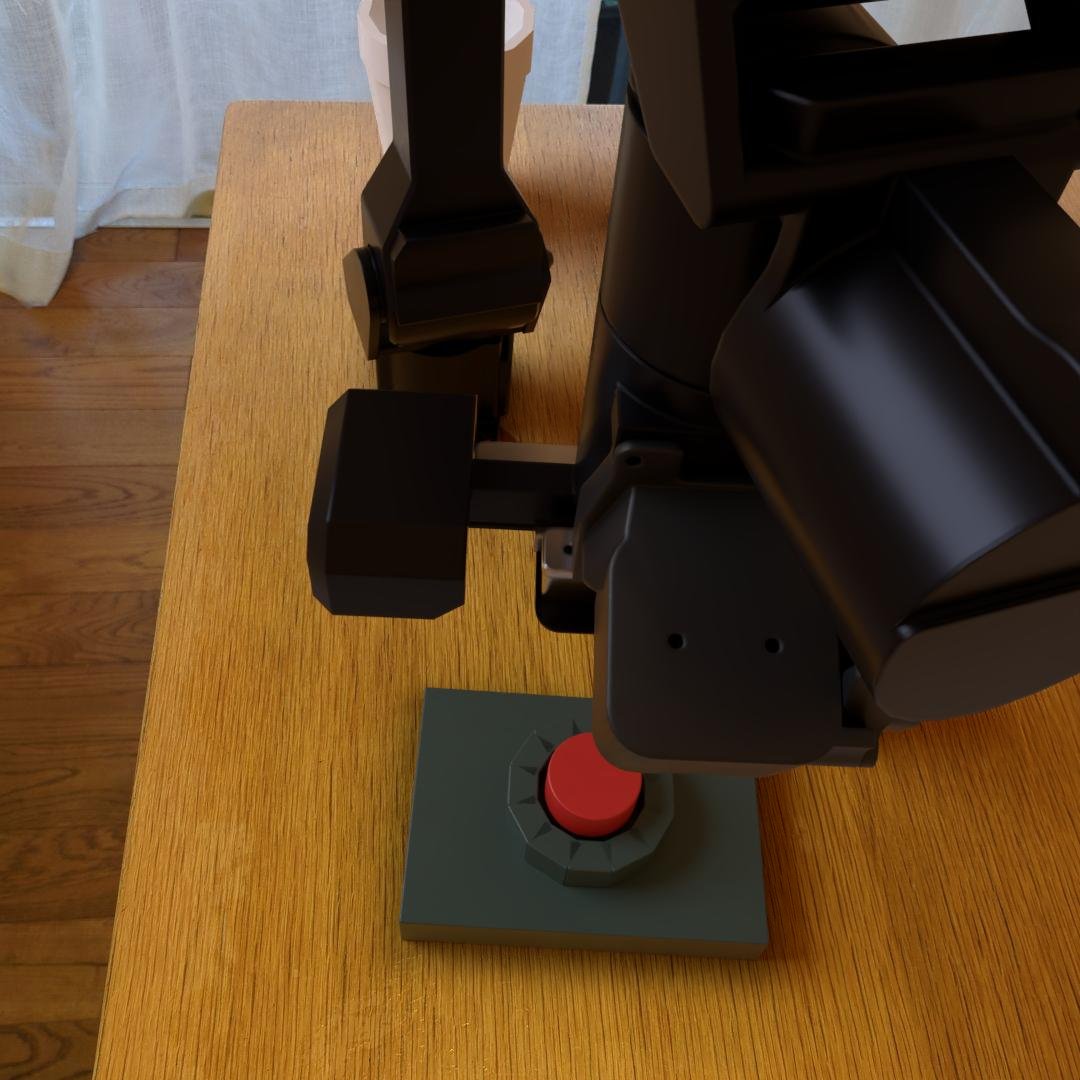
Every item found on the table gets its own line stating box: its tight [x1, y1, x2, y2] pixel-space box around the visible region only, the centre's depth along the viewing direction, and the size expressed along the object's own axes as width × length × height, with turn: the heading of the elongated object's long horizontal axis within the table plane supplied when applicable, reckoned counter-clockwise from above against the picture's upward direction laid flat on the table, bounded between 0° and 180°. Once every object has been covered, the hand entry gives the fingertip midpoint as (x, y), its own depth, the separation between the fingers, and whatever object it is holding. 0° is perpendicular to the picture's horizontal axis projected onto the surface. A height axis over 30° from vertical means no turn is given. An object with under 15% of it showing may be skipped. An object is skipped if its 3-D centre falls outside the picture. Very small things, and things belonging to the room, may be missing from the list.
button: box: [545, 733, 642, 837], centre depth 43 cm, size 4×4×2 cm
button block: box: [398, 686, 770, 961], centre depth 45 cm, size 14×10×4 cm
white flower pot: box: [356, 0, 536, 170], centre depth 64 cm, size 10×9×13 cm
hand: (635, 670), depth 36 cm, fingers closed
